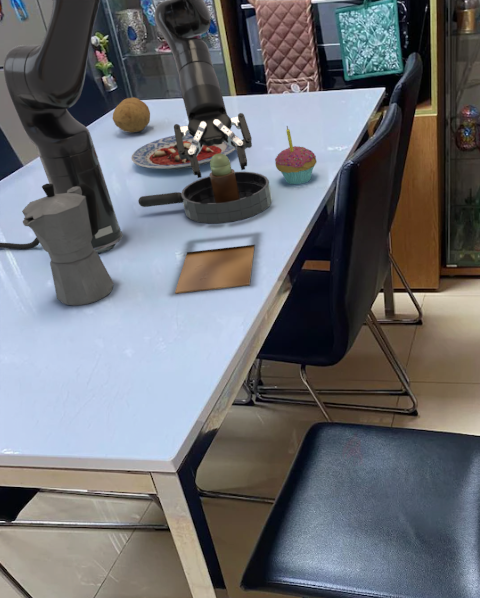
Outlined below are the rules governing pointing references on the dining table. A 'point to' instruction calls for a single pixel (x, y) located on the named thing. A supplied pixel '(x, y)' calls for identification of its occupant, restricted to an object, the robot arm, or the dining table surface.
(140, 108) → the potato
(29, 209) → the coffeepot
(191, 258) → the placemat
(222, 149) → the ceramic plate
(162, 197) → the pan handle
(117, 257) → the dining table surface
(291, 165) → the cupcake
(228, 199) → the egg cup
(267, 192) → the pan
